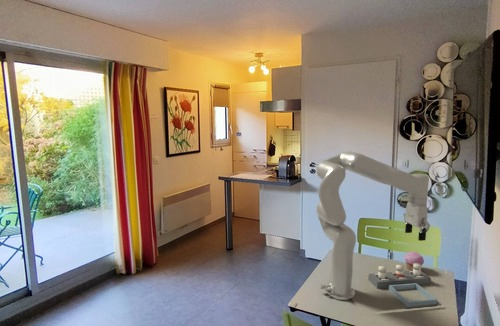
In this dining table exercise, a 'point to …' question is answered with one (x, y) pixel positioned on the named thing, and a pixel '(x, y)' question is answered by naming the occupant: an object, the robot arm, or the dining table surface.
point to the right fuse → (416, 269)
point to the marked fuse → (399, 271)
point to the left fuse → (381, 272)
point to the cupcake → (413, 259)
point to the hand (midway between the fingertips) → (414, 236)
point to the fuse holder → (398, 279)
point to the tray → (428, 301)
